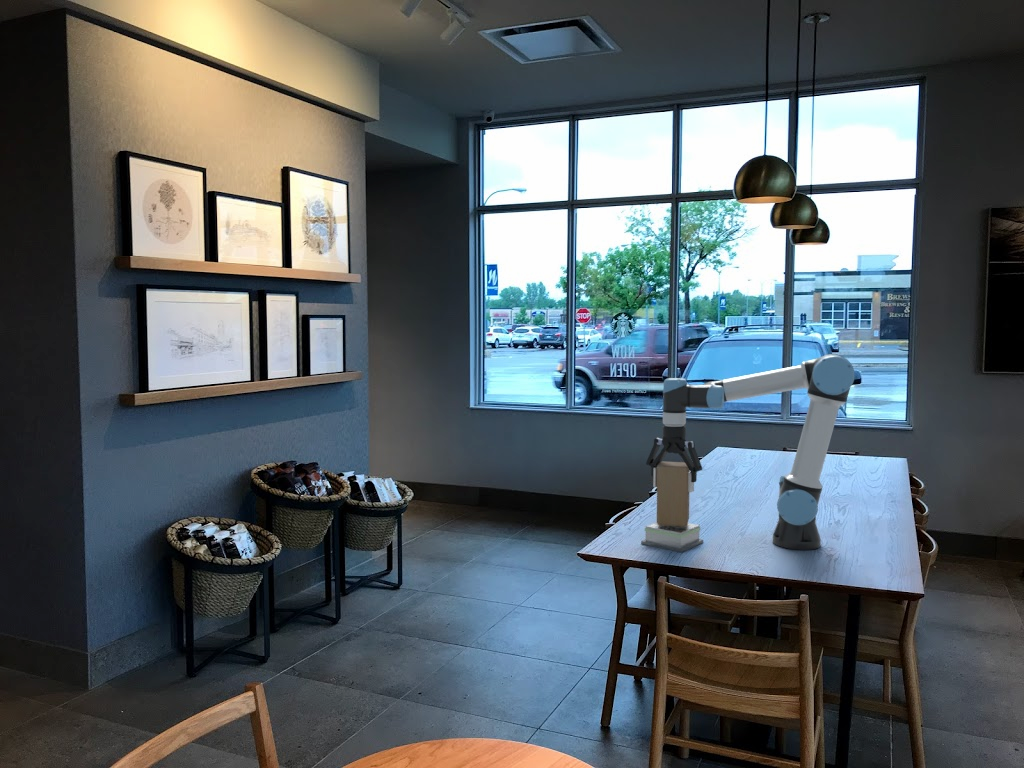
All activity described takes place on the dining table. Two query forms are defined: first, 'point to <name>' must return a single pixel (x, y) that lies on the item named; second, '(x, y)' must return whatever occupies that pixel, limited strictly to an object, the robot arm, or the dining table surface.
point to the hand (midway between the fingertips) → (673, 489)
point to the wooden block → (672, 494)
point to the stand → (672, 537)
